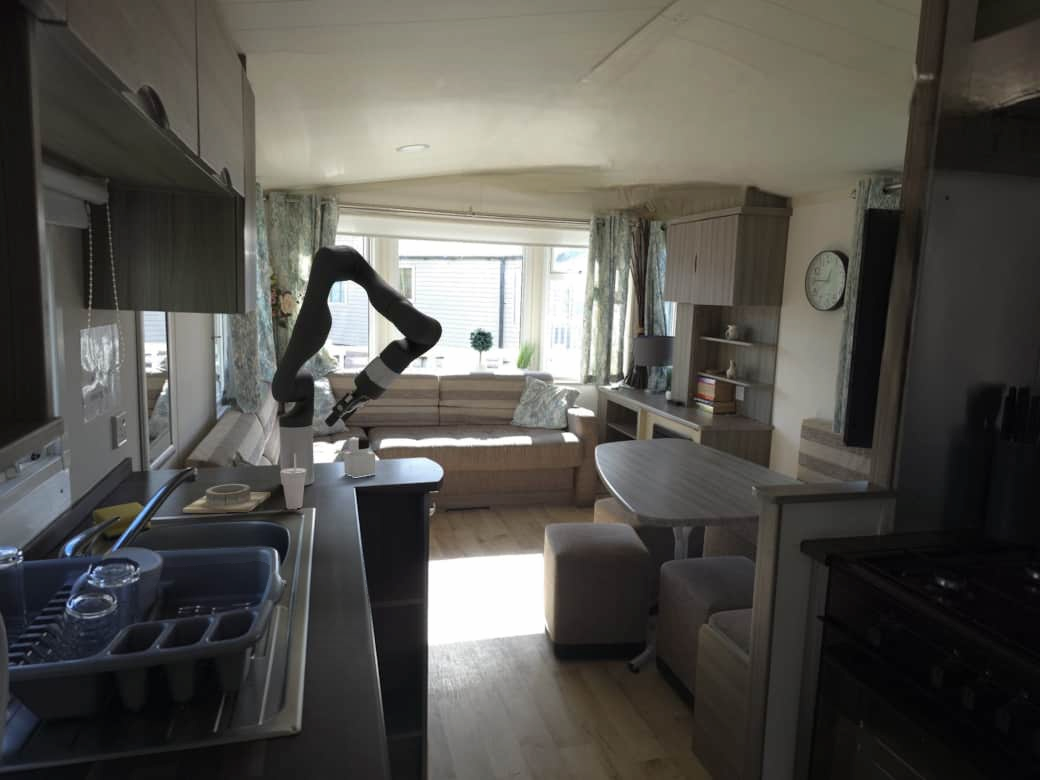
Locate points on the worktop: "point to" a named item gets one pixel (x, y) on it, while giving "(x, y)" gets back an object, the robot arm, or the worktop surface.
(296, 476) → the smoothie
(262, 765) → the worktop surface
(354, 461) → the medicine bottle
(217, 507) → the collar stand
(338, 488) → the worktop surface
